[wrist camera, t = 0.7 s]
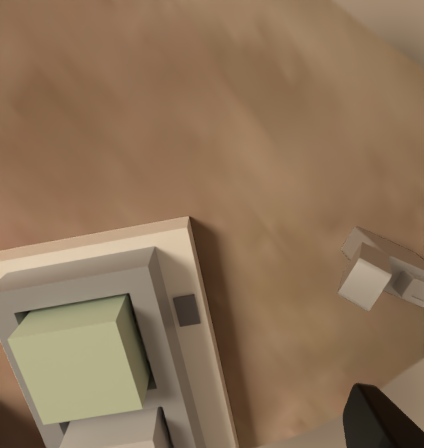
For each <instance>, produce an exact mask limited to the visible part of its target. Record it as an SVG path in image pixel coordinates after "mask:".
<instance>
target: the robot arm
mask: <svg viewBox="0 0 424 448" xmlns="http://www.w3.org/2000/svg"><path fill="white" fill-rule="evenodd" d="M343 426H344V432H345V439H346V446H347V448H424V432H423V431H422V430H421V429H420V428H419V427H418V426H417V425H416V424H415V423H414V422H413V421H412V420H411V419H410V418H408V416H406V415H405V414H404V413H403V412H402V411H401V410H400V409H399V408H398V407H397V406H396V405H395V404H394V403H393V402H392V401H391V400H390V399H389V398H388V397H387V396H386V395H385V394H384V393H382V392H381V391H380V390H379V389H378V388H377V387H376V386H374V385H369V384H363V383H356V384H354V386H353V387H352V390H351V392H350V395H349V398H348V400H347V403H346V406H345V408H344V412H343Z"/></svg>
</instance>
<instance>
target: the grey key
mask: <svg viewBox="0 0 424 448" xmlns="http://www.w3.org/2000/svg"><path fill="white" fill-rule="evenodd" d="M59 448H172V446H171V443H170V439H169V436H168V433H167V429H166V426H165V422H164V419H163V416H162V412H161V409H160V407H156V408H150V409H143V410H137V411H131V412H124V413H118V414H112V415H106V416H99V417H93V418H87V419H80V420H74V421H70V423H69V426H68V428H67V431H66V433H65V435H64V438H63V440H62V443H61V445H60V447H59Z"/></svg>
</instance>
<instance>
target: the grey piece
mask: <svg viewBox="0 0 424 448" xmlns="http://www.w3.org/2000/svg"><path fill="white" fill-rule="evenodd" d="M126 293H127V296H128V299H129V303H130V306H131V310H132V313H133V316H134V320H135V323H136V327H137V330H138V334H139V337H140V340H141V344H142V347H143V351H144V354H145V357H146V361H147V364H148V368H149V371H150V377H149V381H148V386H147V391H146V396H145V401H144V406H143V409H150V408H156V407H160V409H161V412H162V416H163V419H164V422H165V426H166V429H167V433H168V436H169V439H170V443H171V446H172V448H239V444H238V439H237V435H236V430H235V425H234V421H233V416H232V412H231V407H230V402H229V398H228V393H227V389H226V384H225V380H224V375H223V370H222V366H221V361H220V357H219V352H218V347H217V343H216V338H215V334H214V329H213V325H212V320H211V315H210V311H209V306H208V302H207V297H206V292H205V288H204V283H203V279H202V274H201V269H200V265H199V260H198V256H197V251H196V247H195V242H194V237H193V233H192V228H191V224H190V219H189V216H186V217H181V218H175V219H170V220H164V221H159V222H154V223H148V224H143V225H137V226H132V227H126V228H121V229H115V230H110V231H105V232H99V233H94V234H88V235H83V236H77V237H72V238H66V239H61V240H56V241H50V242H45V243H39V244H34V245H28V246H23V247H17V248H12V249H7V250H1V251H0V341H1V344H2V346H3V348H4V351H5V353H6V355H7V358H8V360H9V362H10V365H11V367H12V369H13V371H14V374H15V376H16V378H17V381H18V383H19V385H20V388H21V390H22V392H23V395H24V397H25V399H26V402H27V404H28V406H29V409H30V411H31V413H32V415H33V418H34V420H35V422H36V425H37V427H38V429H39V432H40V434H41V436H42V439H43V441H44V443H45V446H46V448H59V447H60V445H61V443H62V440H63V438H64V435H65V433H66V431H67V428H68V426H69V423H70V421H65V422H58V423H52V424H46V425H43V423H42V420H41V418H40V416H39V413H38V411H37V409H36V406H35V404H34V402H33V399H32V397H31V394H30V392H29V390H28V387H27V385H26V383H25V380H24V378H23V376H22V373H21V371H20V369H19V366H18V364H17V361H16V359H15V357H14V354H13V352H12V350H11V347H10V345H9V343H8V340H7V339H8V338H9V337H10V336H11V334H12V333H13V332H14V331H15V330H16V328H17V327H18V326H19V325H20V323H21V322H22V321H23V320H24V319H25V317H26V316H27V315H28V314H29V312H30V311H31V310H34V309H40V308H46V307H51V306H57V305H63V304H69V303H74V302H80V301H86V300H91V299H97V298H103V297H109V296H114V295H120V294H126ZM143 409H140V410H143ZM134 411H137V410H134ZM127 412H131V411H127ZM121 413H124V412H121ZM115 414H118V413H115ZM109 415H112V414H109ZM102 416H106V415H102ZM96 417H99V416H96ZM90 418H93V417H90ZM84 419H87V418H84ZM77 420H80V419H77ZM71 421H74V420H71Z"/></svg>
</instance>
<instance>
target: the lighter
mask: <svg viewBox="0 0 424 448" xmlns="http://www.w3.org/2000/svg"><path fill="white" fill-rule="evenodd" d="M341 249H342V252H343V253H344V254H345V256H346V257H347V258H348V259H349V260H350V262H349V264H348V265H347V267H346V269H345V270H344V273H343V276H342V279H341V282H340V286H339V289H338V292H337V294H339V295H340V296H342V297H344V298H345V299H347V300H349V301H351V302H352V303H354V304H356V305H357V306H359V307H361V308H363V309H364V310H366V311H369V310H370V309H371V307H372V306H373V304H374V303H375V301H376V300H377V298H378V297H379V295H380V294H381V292H382V291H385V292H387V293H390V294H392V295H394V296H397V297H399V298H401V299H404V300H406V301H409V302H411V303H413V304H416V305H418V306H420V307H423V308H424V260H423V259H422V258H421V257H419V256H418V255H417V254H415V253H414V252H413V251H411V250H409V249H406V248H404V247H402V246H400V245H397V244H395V243H393V242H391V241H388V240H386V239H384V238H382V237H379V236H377V235H375V234H373V233H370V232H368V231H366V230H364V229H362V228H359V227H355V228H353V230H352V231H351V233H350V235H349V236H348V238H347V240H346V241H345V243H344V245H343V246H342V248H341Z"/></svg>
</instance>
